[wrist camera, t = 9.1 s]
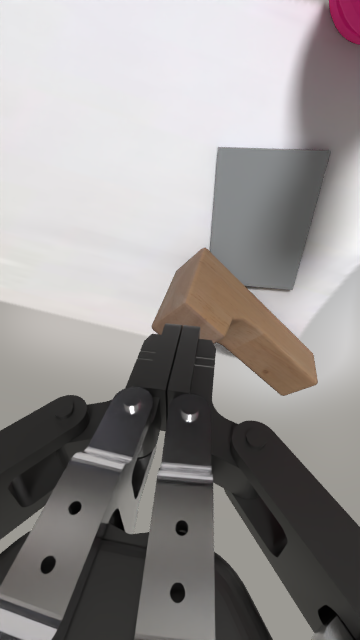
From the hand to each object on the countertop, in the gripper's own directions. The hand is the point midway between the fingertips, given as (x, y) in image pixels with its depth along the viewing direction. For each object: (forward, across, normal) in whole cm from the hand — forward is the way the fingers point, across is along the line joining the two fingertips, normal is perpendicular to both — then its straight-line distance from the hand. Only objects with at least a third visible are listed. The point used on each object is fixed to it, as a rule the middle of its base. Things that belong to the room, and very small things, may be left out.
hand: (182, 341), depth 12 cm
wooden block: (+13, +2, +4) cm, 13 cm away
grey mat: (+18, -4, 0) cm, 18 cm away
